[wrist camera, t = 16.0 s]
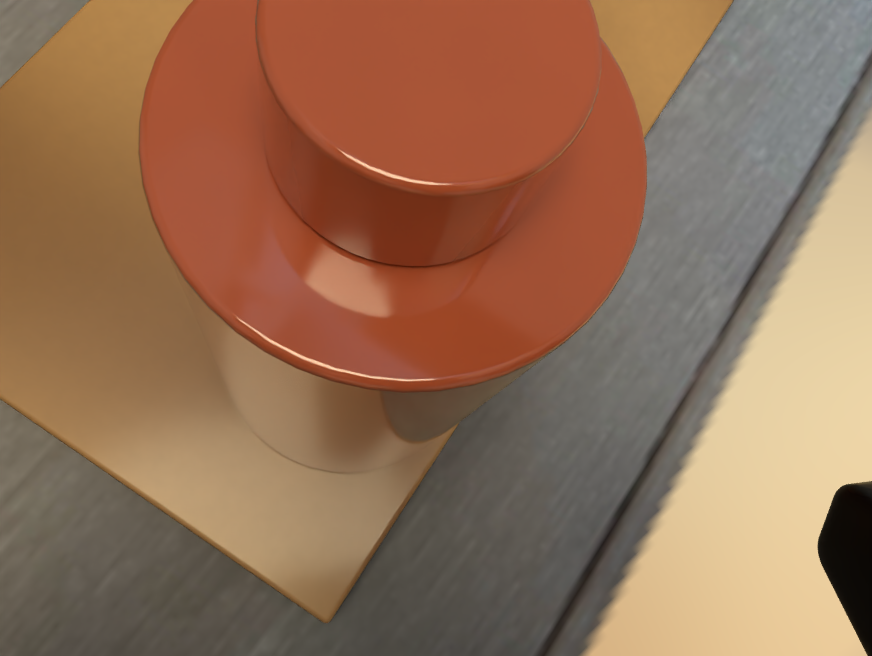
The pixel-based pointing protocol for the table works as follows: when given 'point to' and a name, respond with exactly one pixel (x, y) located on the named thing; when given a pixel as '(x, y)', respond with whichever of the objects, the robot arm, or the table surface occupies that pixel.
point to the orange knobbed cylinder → (387, 205)
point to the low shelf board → (171, 313)
